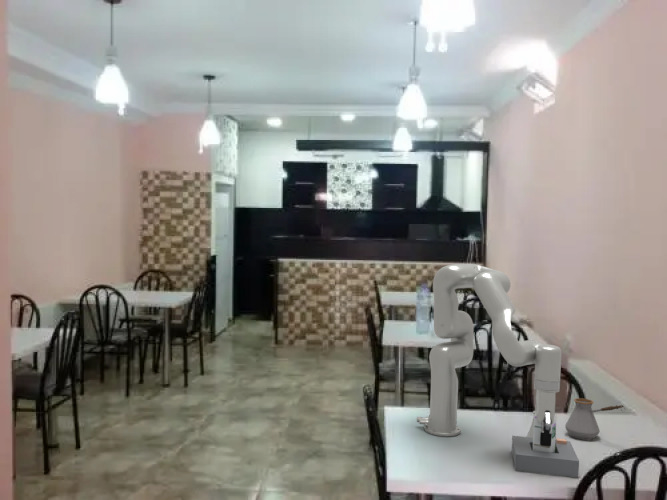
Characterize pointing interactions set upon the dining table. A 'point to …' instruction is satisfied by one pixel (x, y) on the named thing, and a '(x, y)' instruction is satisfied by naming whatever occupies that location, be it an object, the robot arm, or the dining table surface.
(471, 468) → the dining table surface
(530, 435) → the flask
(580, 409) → the coffee pot
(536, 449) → the syrup box
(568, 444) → the socket block
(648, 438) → the dining table surface
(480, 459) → the dining table surface
